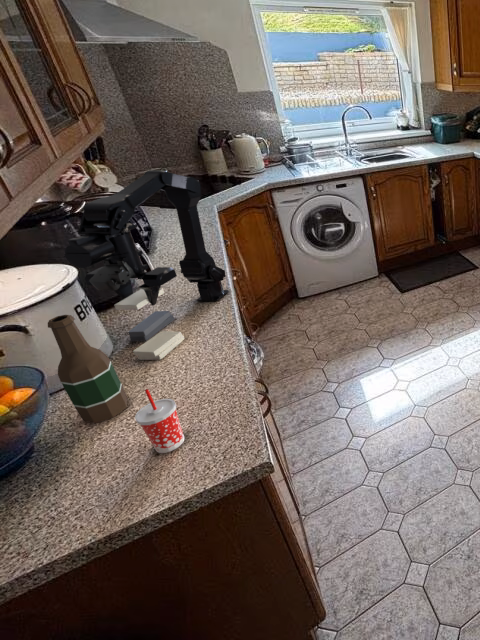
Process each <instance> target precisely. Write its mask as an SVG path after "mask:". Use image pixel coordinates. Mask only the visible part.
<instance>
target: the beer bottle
mask: <svg viewBox="0 0 480 640" xmlns="http://www.w3.org/2000/svg"><path fill="white" fill-rule="evenodd" d="M75 319H76V318H75V317H74V316H73V315H71V314H62V315H57V316H54V317H53V318H51V319H49V320H48V321H47V328H49V329H51V332H52V334H53V337H54V339H55V341H56V344H57V346H58V349H59V351H60V356H61V358H60V361H59V363H58V365H57V377H58V379H59V382H60V383H61V385H62V387H63V389H64V390H65V392H66V394H67V396H68V398H69V399H70V401H71V403H72V405H73V407H74V408H75V410H76V412H77V414H78V416H79V417H80V418H81V420H82V421H83V422H86V423H92V424H99V423H101V422H104V421H107V420H110V419H113V418H115V417H116V416H118V415H119V414H121V412H124V411H125V410H126V409H127V405H128V402H129V401H128V400H129V399H128V395H127V392H126V391H125V388H124V386H123V384H122V382H121V379H120V378H119V376H118V373H117V372H116V370H115V367H114V365H113V363H112V361H111V359H110V358H109V356H108V355H107V354H106V353H105V352H104V351H102V350H101V349H99V348H96V347H94V346H91V345H90V344H89V342H87V340H86V338H85V337H84V335H83V334H82V332H81V331H80V329H79V328H78V326H77V325H76V323H75Z"/></svg>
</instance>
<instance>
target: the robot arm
mask: <svg viewBox="0 0 480 640" xmlns="http://www.w3.org/2000/svg"><path fill="white" fill-rule="evenodd" d="M201 187H202V185H201V183H200V181H199V180H198V179H197V178H195V177H193V176H184V175H180V174H176V173H172V172H169V171H167V170H161V169H160V170H154V169H152V170H147V171H146V172H144V174H143V175H142V176H140V177H138V178H137V179H136V180H134V181H132V182H131V183H130V184H129V185H127V186H125V187H124V188H122V189H121V190H119V191H118V192H116V193H115V194H112V195H108V196H105V197H101V198H97V199H95V200H93V201H90V202H88V203H86V204H85V205H84V207H83V213H82V217H81V220H80V224H79V228H78V232H77V234H78V235H79V236H78V237H73V238H70V239H68V240H67V243H68V245H67V246H66V248H65V249H64V257H65V259H66V260H67V262H68V263H69V264H71V265H72V266H74V267H76V268H80V269H87V268H90V267H92V266H94V265H95V264H98V263H101V262H102V263H103V266H100V267H98V268H96V269H93V270H92V271H89V272H87V273H86V274H85V277H84V281H85V284H86V286H93V287H94V288H95V289H96V290H97V291H100V292H102V291H110V292H114V293H116V294H117V296H119V297H120V298H121V300H123V299H125V298H127V297H129V296H130V295H132V294H134V291H133V290H134V289H133V285H132V280H142V282H143V284H141V285H139V286H138V287H137V288H138V289H139V290H140V289H143V290H144V291H145V293H146V295H147V298H148V300H149V304H150V305H151V306H155V305H156V304H157V302H158V298H159V297H158V294H159V290H160V288H162V286H164V285H165V284H166V283H168V282H170V281H171V280H173V279H175V278H177V277H178V275H177V272H176V269H175V268H173V267H170V266H167V267H166V266H165V267H164V266H157V267H155V268H154V269H152V270H150V271H146V270H147V269H149V265H148V264H143V261H142V259H141V256H142V255H143V254H144V252H143V250H142V249H138V248H137V246H136V243H135V240H134V238H133V236H132V233H131V231H132V230H134V229H136V228H137V225H136V224H134V223H131V222H129V221H130V220H131V219H132V218H133V217H134V216H135V211H136V208H137V207H138V206H140V205H141V204H142V203H144V202H145V201H147V200H148V199H149V198H151V197H152V196H153V195H154V194H156V193H157V192H158V191H164V193H165V196H166V198H167V200H168V201H169V202H170V203H171V204H172V205H173V206H174V207H175V209H176V213H177V219H178V223H179V228H180V232H181V237H182V242H183V246H184V251H185V255H184V257H183V259H180V260H179V262H178V264H179V267H180V274H182V276H183V277H184V278H185V279H187V281H188V282H189V284H190V283H191V284H194V283H196V286H197V291H198V294H199V297H198V298H197V299H196V301H197V302H217V301H219V300H221V299H222V298H223V297H224V296H226V294H228V293H229V290H228V289H224V287H223V284H222V281H224V280H225V278H226V270H225V269H223V268H221V267H218V266H217V264H216V261H215V259H214V258H213V256H212V255H211V254H210V253H208V251H207V250H206V245H205V241H204V240H205V239H204V234H203V230H202V225H201V220H200V215H199V211H198V210H199V209H198V204H199V203H200V200H201V198H202V188H201Z"/></svg>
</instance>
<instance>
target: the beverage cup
mask: <svg viewBox="0 0 480 640" xmlns="http://www.w3.org/2000/svg"><path fill="white" fill-rule="evenodd" d="M144 392H145V394H146V396H147V398H148V401H149V403H147V404H146V405H144V406H142V407H141V408H140V409H139V410H138V411H137V412H136V413H135V415H134V419H135V422H136V423H137V424H138V425H140V427H141V428H142V430H143V431H144V433H145V435H146V437H147V438H148V440H149V442H150V443H151V445H152V446H153V448H154V450H155V451H156V452H157V453H158V454H165V453H170V452H172V451H174V450H176V449H178V448H179V447H181V446H182V444H183V443H184V441H185V439H186V438H185V435H184V431H183V428H182V426H181V423H180V422H181V421H180V419H179V416H178V413H177V404H176V401H175V400H174V399H172V398H161V399H157V400H154V399H153V397H152V395H151V392H150V390H149V389H148V388H146V389H145V390H144Z"/></svg>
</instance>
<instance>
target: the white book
mask: <svg viewBox="0 0 480 640" xmlns="http://www.w3.org/2000/svg"><path fill="white" fill-rule="evenodd" d="M165 293H166V292H165V289H164V288H162V287H160V290H159V294H158V298H159V297H160V296H162V295H163V294H165ZM148 304H150V302H149V300H148V298H147V295H146V293H145V291H144V290H143V289H140V288H139V290H137V291H135V292H133V294H132V295H130V296H129V297H127V298H125V299H121V300H120V301H119V302H116V303H115V304H114V305H113V306H114V308H115V310H116V311H117V310H119V311H120V310H121V311H122V310H123V311H125V310H126V311H129V310H130V311H135V310H136V311H138V310H140V309H141V308H143V307H145V306H146V305H148Z"/></svg>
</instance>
